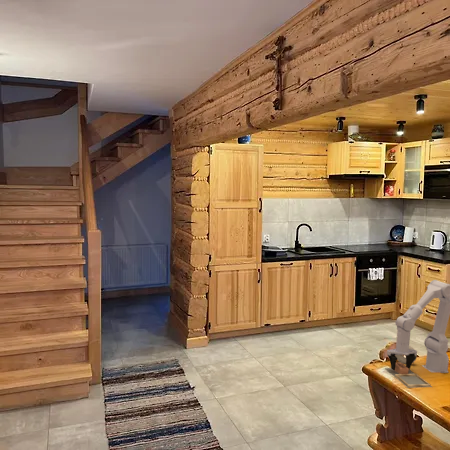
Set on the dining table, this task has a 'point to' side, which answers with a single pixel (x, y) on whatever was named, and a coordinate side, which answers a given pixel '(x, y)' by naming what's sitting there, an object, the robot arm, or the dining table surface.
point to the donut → (403, 359)
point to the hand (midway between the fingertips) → (400, 369)
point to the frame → (414, 384)
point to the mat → (407, 378)
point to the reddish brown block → (401, 368)
